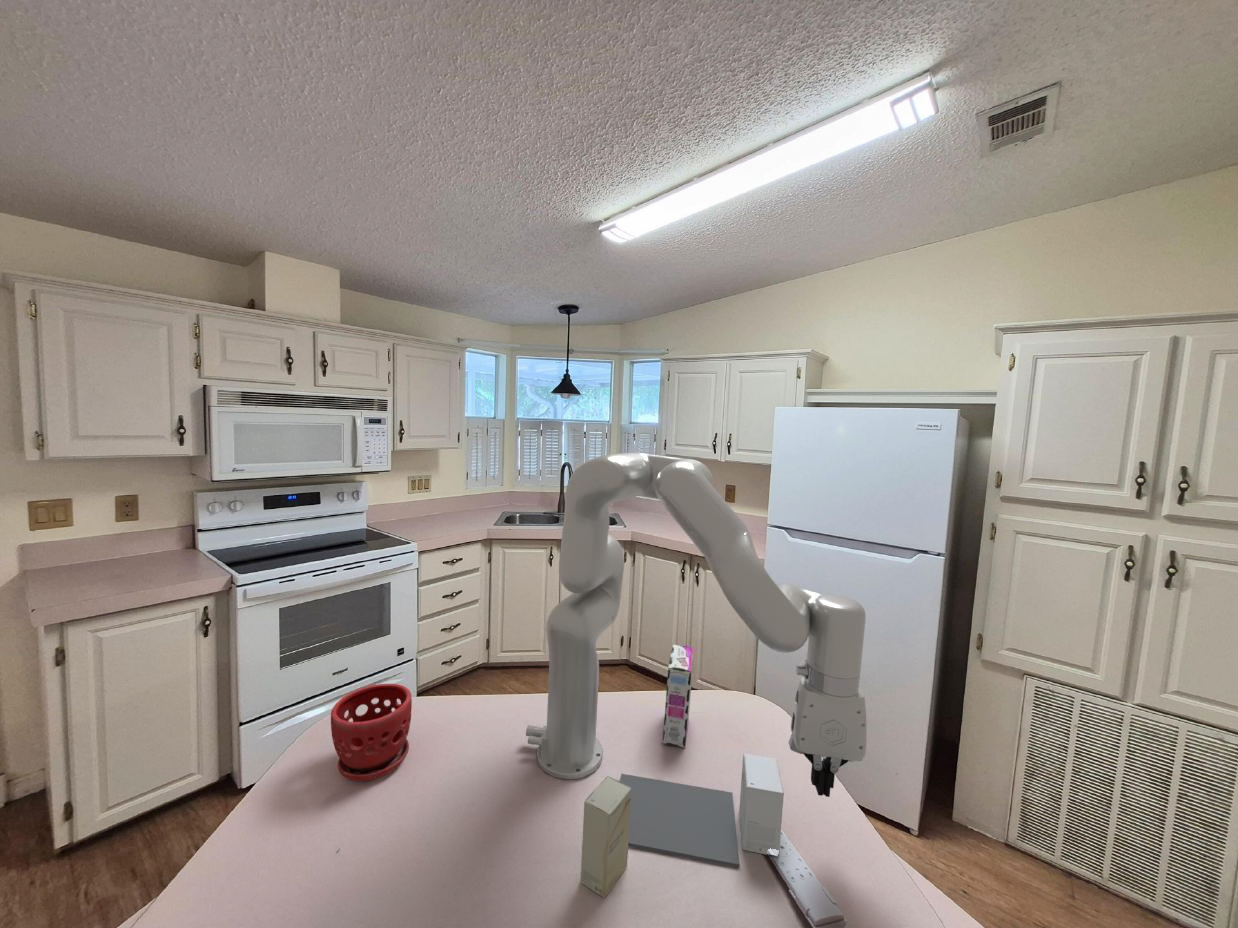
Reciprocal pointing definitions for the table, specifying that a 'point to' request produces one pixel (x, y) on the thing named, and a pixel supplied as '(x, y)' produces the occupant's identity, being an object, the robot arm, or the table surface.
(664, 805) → the mat
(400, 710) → the plant pot
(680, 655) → the candy bar box
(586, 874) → the skincare box
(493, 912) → the table surface
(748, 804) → the small box
